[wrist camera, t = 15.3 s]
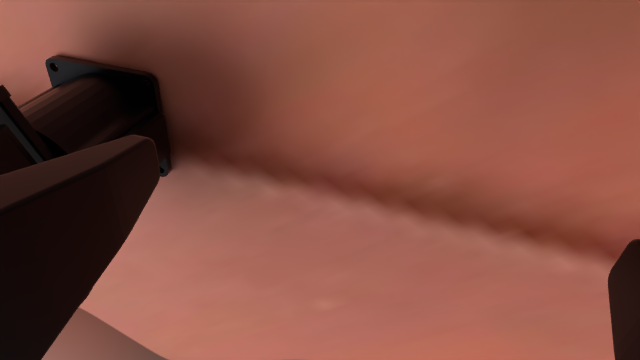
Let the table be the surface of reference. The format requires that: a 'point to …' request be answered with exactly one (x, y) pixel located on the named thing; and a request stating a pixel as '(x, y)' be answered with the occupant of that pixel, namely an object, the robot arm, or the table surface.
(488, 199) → the table surface
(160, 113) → the robot arm
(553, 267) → the table surface
